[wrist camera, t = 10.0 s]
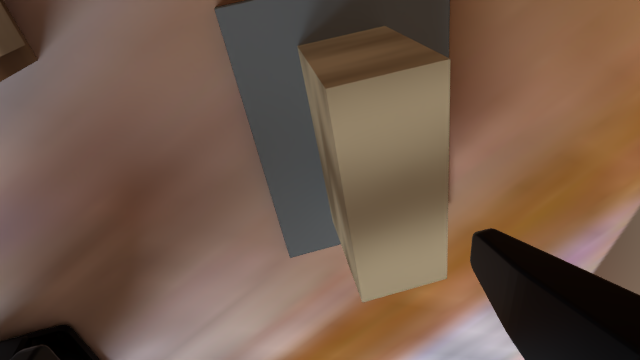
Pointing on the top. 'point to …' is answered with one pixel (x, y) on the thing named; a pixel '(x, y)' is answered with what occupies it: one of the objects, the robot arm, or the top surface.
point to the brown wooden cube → (12, 46)
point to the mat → (290, 92)
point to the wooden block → (383, 154)
